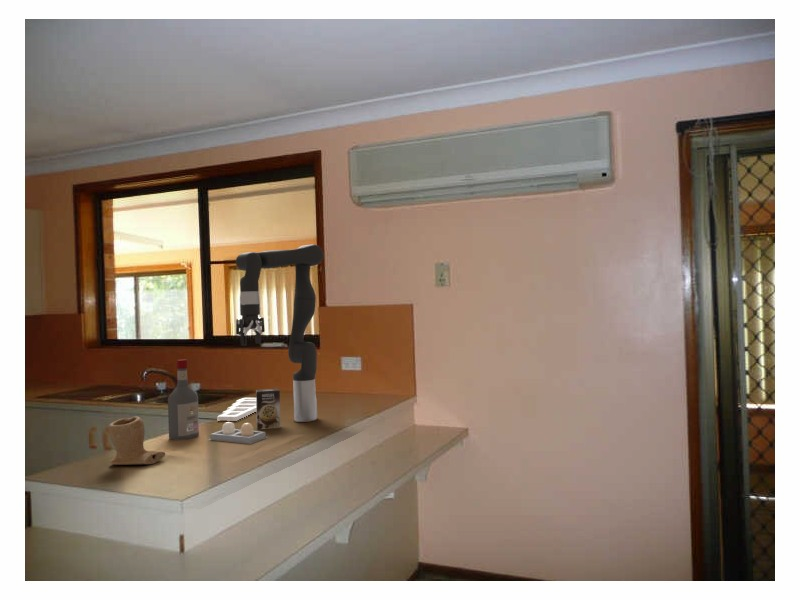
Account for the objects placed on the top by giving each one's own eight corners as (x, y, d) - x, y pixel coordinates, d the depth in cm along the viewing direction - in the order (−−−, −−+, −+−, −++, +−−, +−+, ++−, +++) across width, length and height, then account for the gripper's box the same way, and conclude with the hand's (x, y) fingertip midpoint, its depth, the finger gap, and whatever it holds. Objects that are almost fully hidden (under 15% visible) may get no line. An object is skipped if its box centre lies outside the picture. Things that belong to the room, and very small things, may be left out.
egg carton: (227, 437, 215) (227, 428, 215) (268, 441, 207) (267, 431, 207) (208, 443, 206) (207, 434, 206) (250, 448, 198) (250, 438, 198)
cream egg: (228, 435, 211) (227, 420, 211) (237, 436, 209) (237, 420, 209) (219, 438, 207) (219, 422, 207) (229, 439, 205) (229, 423, 205)
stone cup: (100, 469, 178) (98, 421, 178) (124, 458, 189) (123, 413, 189) (144, 470, 175) (143, 421, 175) (166, 459, 187) (165, 413, 187)
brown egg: (245, 437, 207) (244, 421, 208) (256, 437, 206) (255, 421, 206) (238, 440, 203) (238, 424, 203) (250, 440, 202) (249, 423, 202)
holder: (236, 422, 243) (236, 416, 243) (197, 422, 246) (197, 416, 246) (277, 403, 287) (277, 397, 287) (243, 403, 290) (243, 397, 290)
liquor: (202, 438, 214) (200, 359, 213) (182, 444, 206) (179, 361, 206) (186, 436, 218) (183, 358, 218) (165, 442, 210) (163, 360, 210)
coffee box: (257, 433, 220) (255, 391, 220) (256, 429, 226) (255, 389, 226) (281, 431, 222) (279, 390, 222) (280, 427, 229) (278, 387, 228)
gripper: (253, 303, 231) (255, 343, 231) (229, 303, 218) (231, 346, 218) (269, 302, 228) (270, 343, 228) (245, 303, 215) (246, 346, 215)
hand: (251, 344), depth 223 cm, fingers open, 8 cm apart
